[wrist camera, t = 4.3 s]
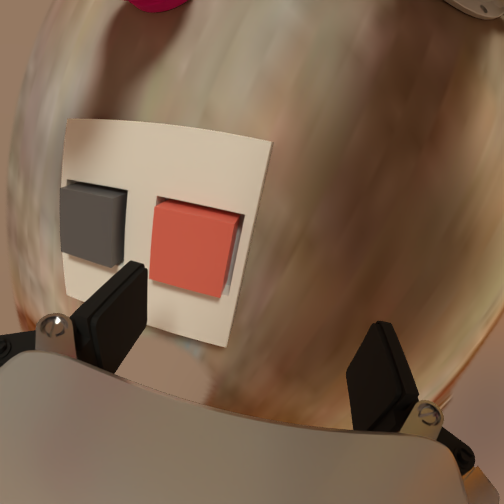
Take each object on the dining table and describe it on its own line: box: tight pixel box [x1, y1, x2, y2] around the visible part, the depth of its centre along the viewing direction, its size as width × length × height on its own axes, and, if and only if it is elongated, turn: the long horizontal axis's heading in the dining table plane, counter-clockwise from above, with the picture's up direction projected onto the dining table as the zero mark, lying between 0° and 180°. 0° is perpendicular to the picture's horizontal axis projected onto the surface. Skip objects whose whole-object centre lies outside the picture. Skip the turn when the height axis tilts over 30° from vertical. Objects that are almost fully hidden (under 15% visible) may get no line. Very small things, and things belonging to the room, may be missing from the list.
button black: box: [60, 182, 128, 268], centre depth 19 cm, size 5×5×2 cm
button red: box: [149, 199, 241, 298], centre depth 19 cm, size 5×5×2 cm
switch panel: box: [61, 119, 274, 347], centre depth 20 cm, size 15×15×3 cm
